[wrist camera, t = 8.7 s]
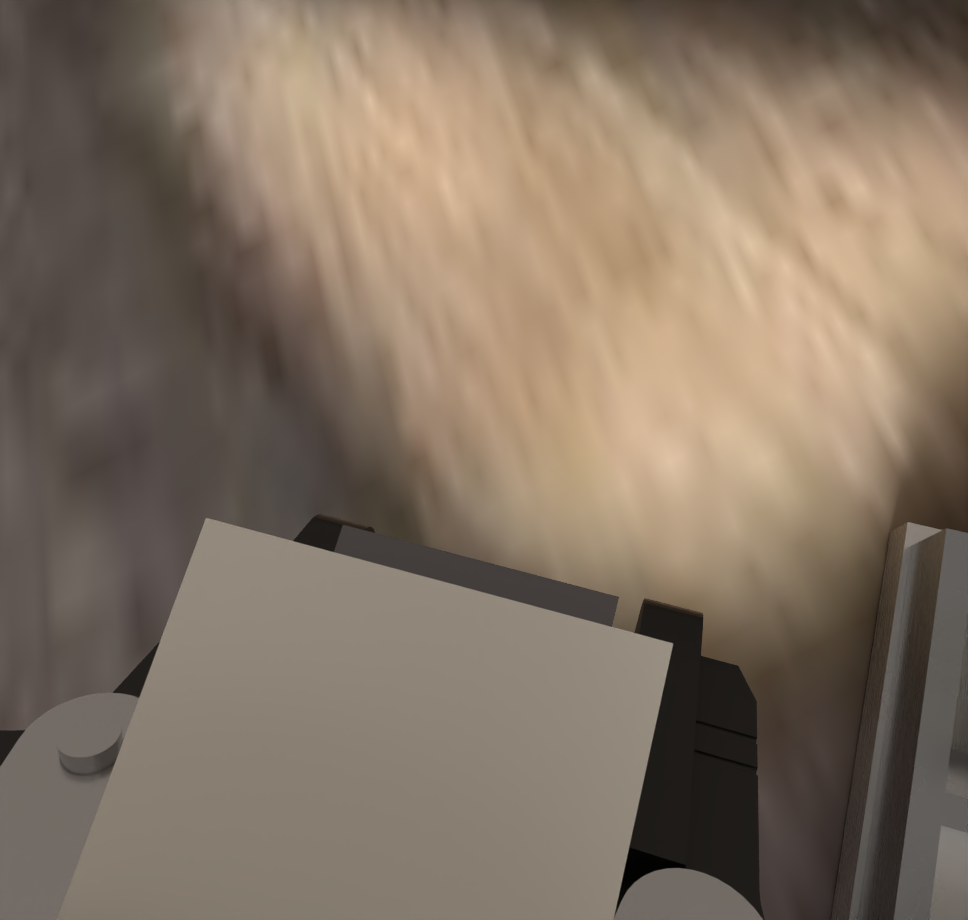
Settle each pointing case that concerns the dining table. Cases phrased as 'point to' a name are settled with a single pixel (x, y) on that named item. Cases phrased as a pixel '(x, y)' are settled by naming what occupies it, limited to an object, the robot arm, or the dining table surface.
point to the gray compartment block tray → (912, 742)
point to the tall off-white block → (374, 743)
